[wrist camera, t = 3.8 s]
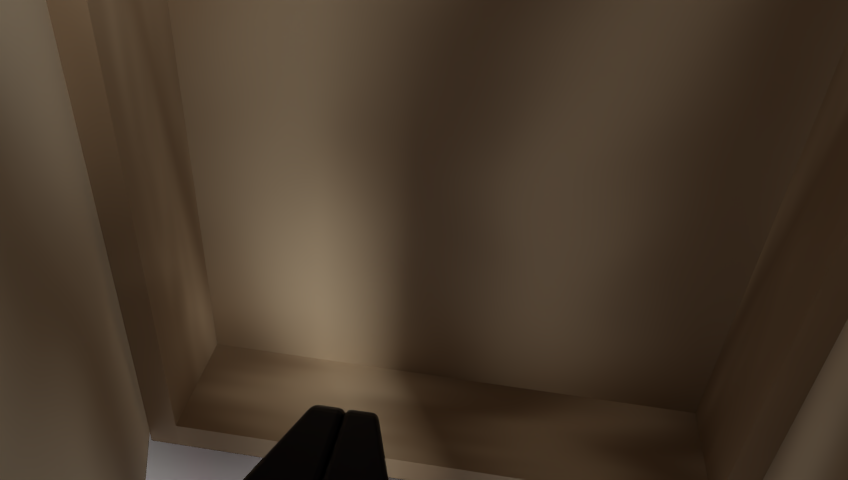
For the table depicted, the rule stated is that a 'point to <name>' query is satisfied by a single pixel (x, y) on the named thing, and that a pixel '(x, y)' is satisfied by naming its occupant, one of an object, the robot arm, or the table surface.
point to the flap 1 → (56, 283)
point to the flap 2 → (819, 426)
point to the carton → (473, 222)
